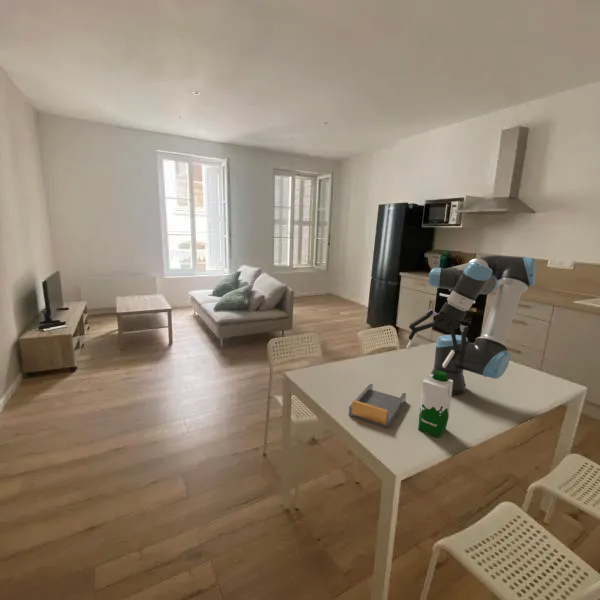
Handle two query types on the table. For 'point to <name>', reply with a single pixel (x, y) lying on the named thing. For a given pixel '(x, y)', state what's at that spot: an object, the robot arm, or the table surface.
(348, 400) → the table surface
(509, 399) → the table surface
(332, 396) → the table surface
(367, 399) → the rail channel
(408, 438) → the table surface
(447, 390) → the soya milk
